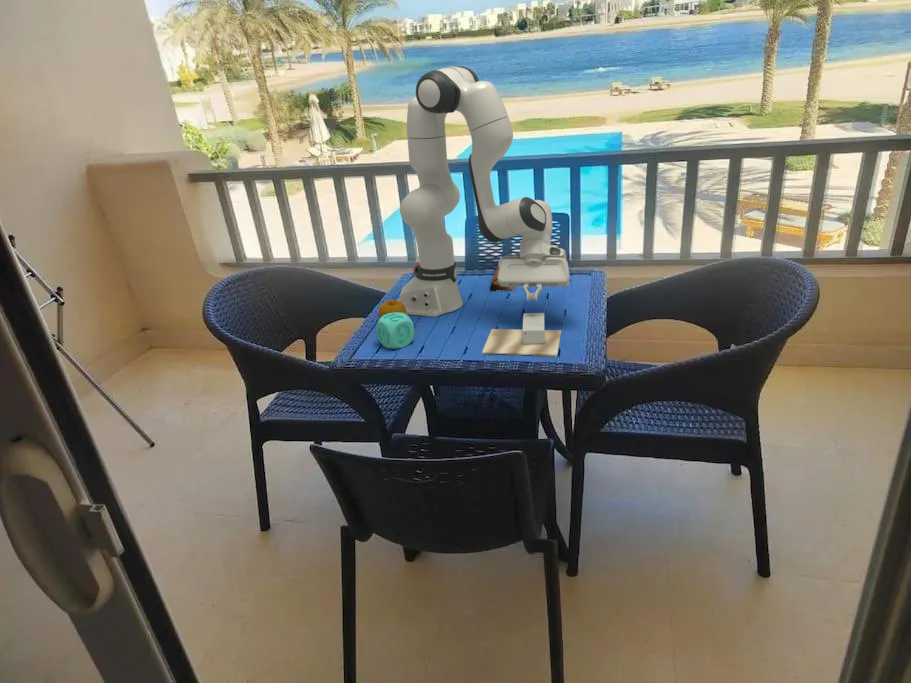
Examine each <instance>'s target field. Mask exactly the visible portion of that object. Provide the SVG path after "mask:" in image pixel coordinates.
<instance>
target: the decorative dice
mask: <svg viewBox="0 0 911 683" xmlns="http://www.w3.org/2000/svg"><path fill="white" fill-rule="evenodd" d="M375 329H376V330H375V332H376V335H377V339H378V340H379V342H380V344H381V345H382V346H383V347H384V348H386V349H390V350H398V349H399V350H400V349H403V348H405V347H407V346H409V345H410V344H411V343H412V342H413V339H414V336H415V330H416V329H415V326H414V323H413V321H412V319H411V317H410V316H409V314H404V313H400V312H394V313H389V314H386V315H384V316H382V317H381V318H380V319H378V321H377V323H376V328H375Z"/></svg>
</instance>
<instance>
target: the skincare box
mask: <svg viewBox="0 0 911 683" xmlns="http://www.w3.org/2000/svg"><path fill="white" fill-rule="evenodd" d="M521 330H522V334H523V344H544V343H545V330H546V329H545V312H529V313H526V312H525V313H523V317H522V329H521Z"/></svg>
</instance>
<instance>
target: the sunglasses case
mask: <svg viewBox="0 0 911 683" xmlns="http://www.w3.org/2000/svg"><path fill="white" fill-rule="evenodd" d="M498 272H499V267H498V266H497V267H496V269H495V271H494V274H493V277H492V280H491V282H490V286H489V289H490V291H491V292H499V291H498V290H501V291H500V292H503V291H502V290H505V291H504V292H507V291H506V290H509V291H508V292H510V290H513V291H512V292H514V291H515V287H502V286H500V284H499V283H498ZM496 290H497V291H496Z"/></svg>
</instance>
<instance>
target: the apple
mask: <svg viewBox="0 0 911 683" xmlns="http://www.w3.org/2000/svg"><path fill="white" fill-rule="evenodd" d="M398 300H399V299H391V300H387V301H384V302H382V303H381V305H380V306H379V308H378V312H377V314H378V318H379V319H380V318H381V317H382V316H384V315H386V314H389V313H394V312H400V313H404V314H406V308H405V306H404V305H403V303H402V302H401V301H398ZM406 315H407V314H406ZM379 319H378V320H379Z"/></svg>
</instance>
